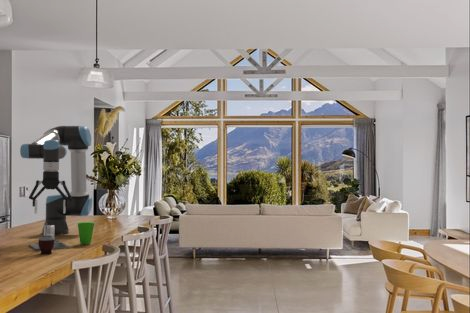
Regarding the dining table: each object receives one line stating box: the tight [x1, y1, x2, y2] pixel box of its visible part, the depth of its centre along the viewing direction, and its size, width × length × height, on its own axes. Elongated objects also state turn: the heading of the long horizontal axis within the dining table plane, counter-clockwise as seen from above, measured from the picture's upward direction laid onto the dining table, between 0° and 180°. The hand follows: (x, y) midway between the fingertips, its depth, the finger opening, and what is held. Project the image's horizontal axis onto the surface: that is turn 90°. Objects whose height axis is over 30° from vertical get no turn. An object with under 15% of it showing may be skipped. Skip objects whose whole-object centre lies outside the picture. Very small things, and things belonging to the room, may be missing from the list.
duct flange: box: [28, 239, 70, 251], centre depth 270 cm, size 16×16×3 cm
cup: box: [76, 221, 95, 245], centre depth 283 cm, size 9×9×11 cm
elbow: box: [43, 225, 55, 239], centre depth 268 cm, size 8×5×10 cm, turn 12°
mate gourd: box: [37, 223, 55, 255], centre depth 251 cm, size 8×8×15 cm
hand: (50, 213), depth 271 cm, fingers open, 13 cm apart
